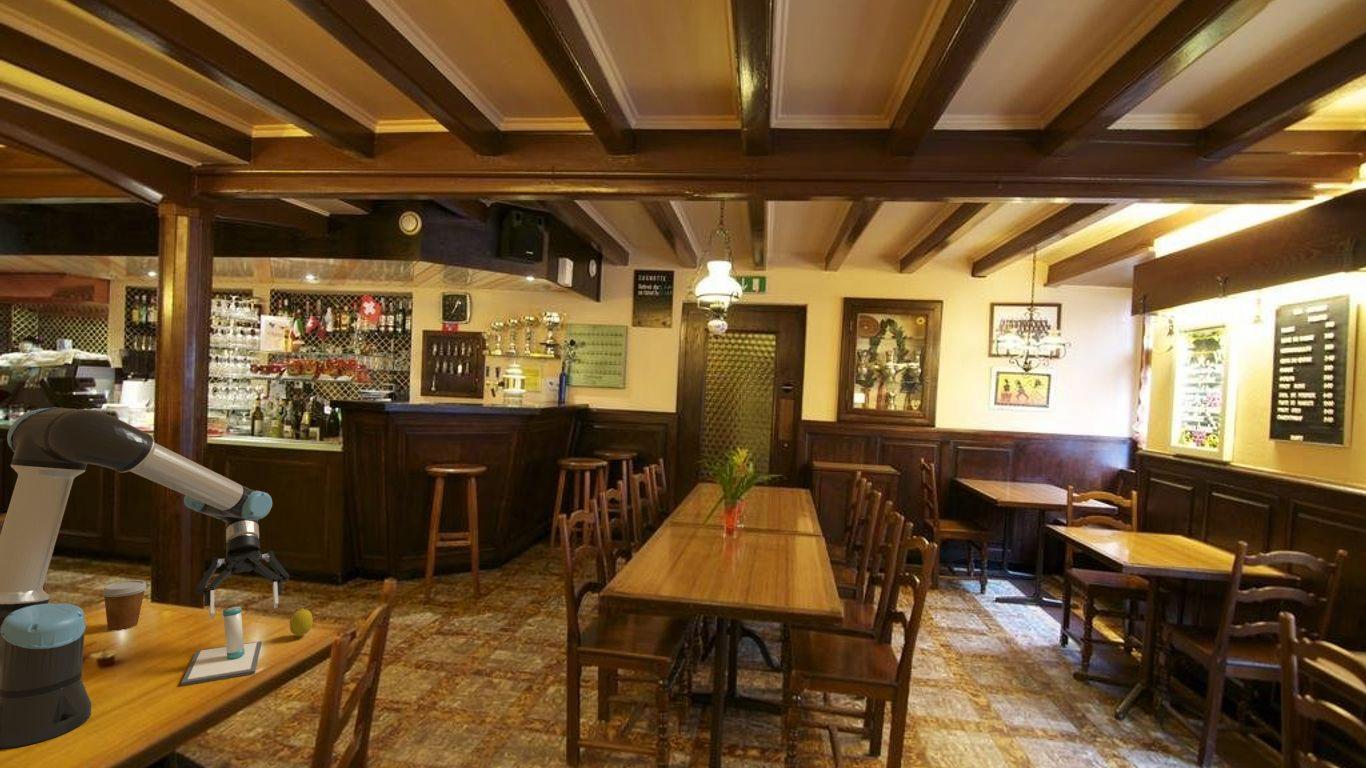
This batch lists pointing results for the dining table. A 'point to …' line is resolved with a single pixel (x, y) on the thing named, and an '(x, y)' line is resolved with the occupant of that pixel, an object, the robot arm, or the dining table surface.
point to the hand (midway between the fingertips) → (244, 610)
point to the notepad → (221, 664)
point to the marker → (233, 632)
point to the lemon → (301, 622)
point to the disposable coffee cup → (123, 603)
